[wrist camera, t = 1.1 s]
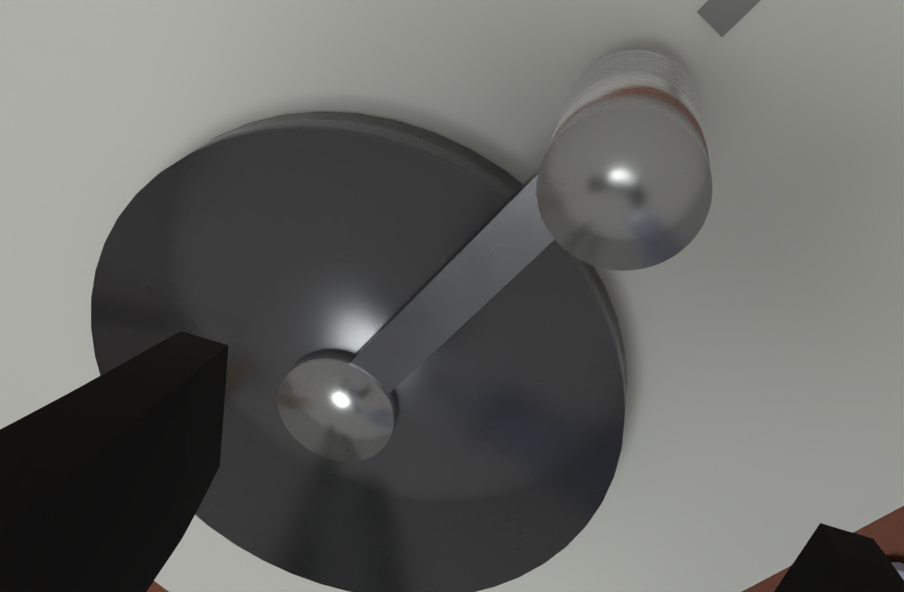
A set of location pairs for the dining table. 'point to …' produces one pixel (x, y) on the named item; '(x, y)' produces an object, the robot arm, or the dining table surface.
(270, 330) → the dial
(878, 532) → the dining table surface
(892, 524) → the dining table surface
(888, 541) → the dining table surface
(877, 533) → the dining table surface
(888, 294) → the dial plate
